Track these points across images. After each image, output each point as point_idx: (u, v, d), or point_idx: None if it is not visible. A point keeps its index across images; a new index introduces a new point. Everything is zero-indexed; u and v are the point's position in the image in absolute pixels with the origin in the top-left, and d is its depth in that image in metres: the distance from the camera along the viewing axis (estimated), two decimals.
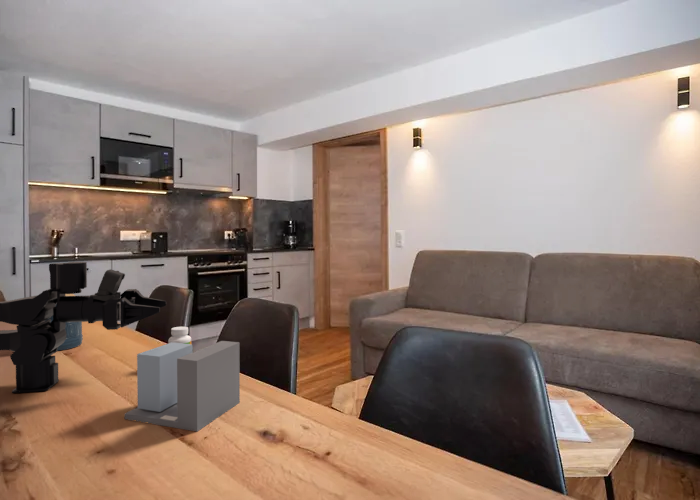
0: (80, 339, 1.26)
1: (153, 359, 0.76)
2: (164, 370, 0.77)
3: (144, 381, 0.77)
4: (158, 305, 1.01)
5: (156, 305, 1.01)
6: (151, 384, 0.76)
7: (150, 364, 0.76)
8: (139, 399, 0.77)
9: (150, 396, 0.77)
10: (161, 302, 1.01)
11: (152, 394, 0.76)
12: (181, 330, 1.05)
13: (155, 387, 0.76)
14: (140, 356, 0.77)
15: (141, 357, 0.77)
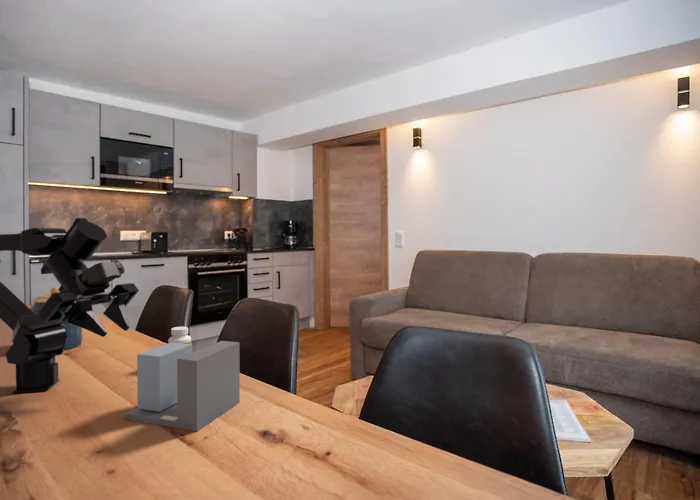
0: (80, 339, 1.26)
1: (153, 359, 0.76)
2: (164, 370, 0.77)
3: (144, 381, 0.77)
4: (121, 324, 0.87)
5: (120, 323, 0.87)
6: (151, 384, 0.76)
7: (150, 364, 0.76)
8: (139, 399, 0.77)
9: (150, 396, 0.77)
10: (124, 325, 0.87)
11: (152, 394, 0.76)
12: (181, 330, 1.05)
13: (155, 387, 0.76)
14: (140, 356, 0.77)
15: (141, 357, 0.77)
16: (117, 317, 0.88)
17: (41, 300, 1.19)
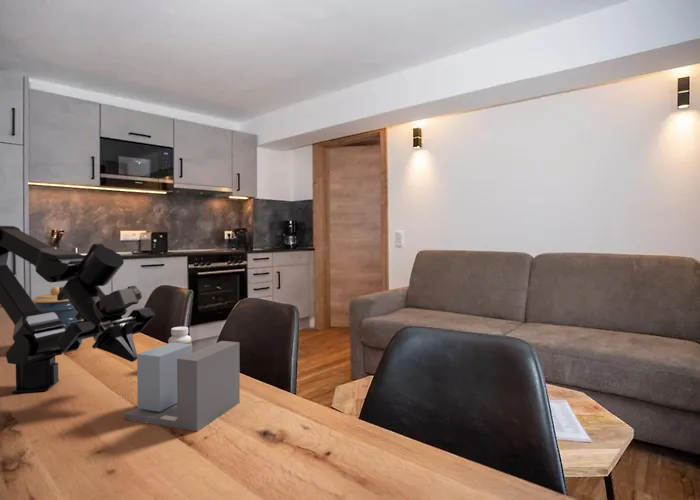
0: None
1: (153, 359, 0.76)
2: (164, 370, 0.77)
3: (144, 381, 0.77)
4: None
5: None
6: (151, 384, 0.76)
7: (150, 364, 0.76)
8: (139, 399, 0.77)
9: (150, 396, 0.77)
10: None
11: (152, 394, 0.76)
12: (181, 330, 1.05)
13: (155, 387, 0.76)
14: (140, 356, 0.77)
15: (141, 357, 0.77)
16: None
17: (41, 300, 1.19)
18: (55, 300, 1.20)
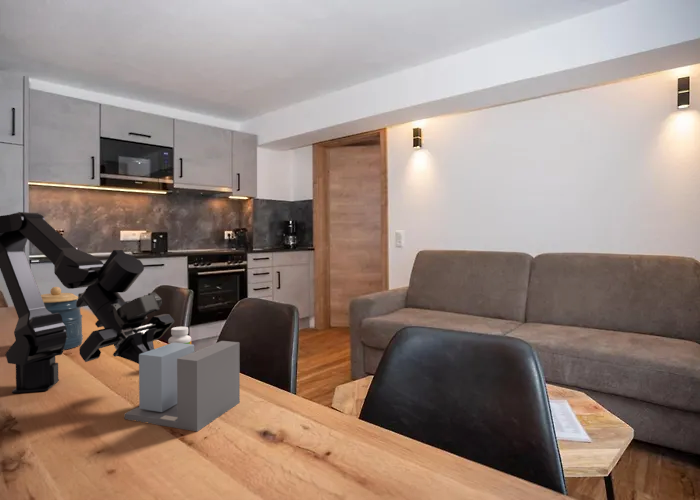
0: (80, 339, 1.26)
1: (155, 359, 0.76)
2: (166, 370, 0.77)
3: (146, 382, 0.77)
4: None
5: None
6: (153, 385, 0.76)
7: (152, 365, 0.76)
8: (141, 399, 0.77)
9: (152, 396, 0.76)
10: None
11: (154, 394, 0.76)
12: (181, 330, 1.05)
13: (157, 387, 0.76)
14: (142, 356, 0.77)
15: (143, 357, 0.77)
16: None
17: None
18: (55, 300, 1.20)
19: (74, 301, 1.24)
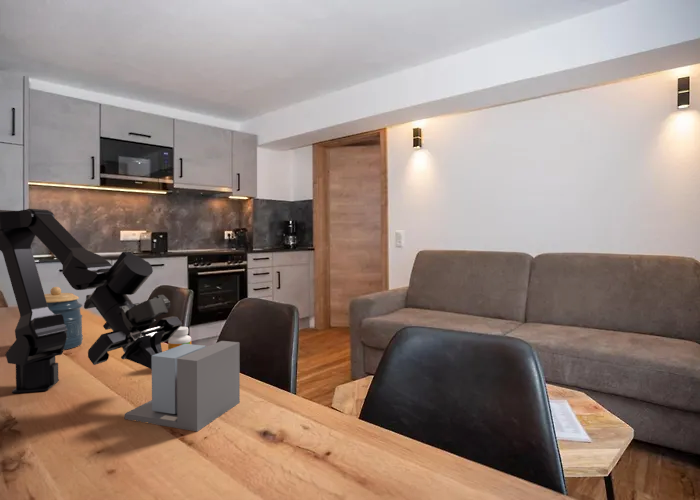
0: (80, 339, 1.26)
1: (168, 361, 0.75)
2: None
3: (159, 383, 0.76)
4: None
5: None
6: (166, 386, 0.75)
7: (165, 366, 0.75)
8: (153, 401, 0.76)
9: (165, 398, 0.76)
10: None
11: (166, 396, 0.76)
12: (181, 330, 1.05)
13: (170, 389, 0.75)
14: (154, 357, 0.76)
15: (156, 358, 0.76)
16: None
17: None
18: (55, 300, 1.20)
19: (74, 301, 1.24)
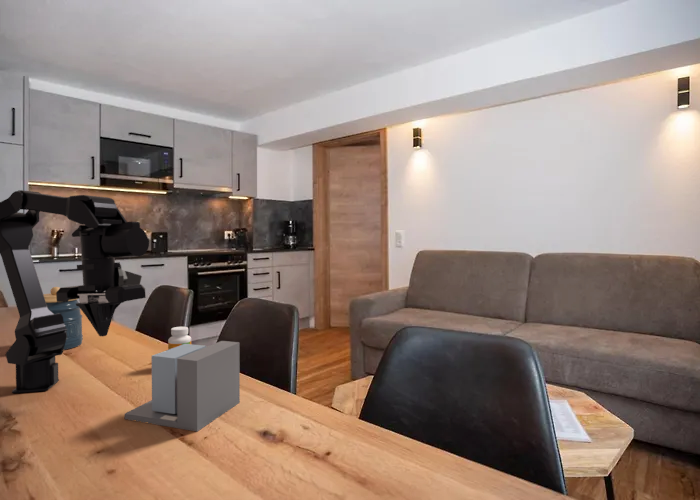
0: (80, 339, 1.26)
1: (168, 361, 0.75)
2: None
3: (159, 383, 0.76)
4: None
5: None
6: (166, 386, 0.75)
7: (165, 366, 0.75)
8: (153, 401, 0.76)
9: (165, 398, 0.76)
10: None
11: (166, 396, 0.76)
12: (181, 330, 1.05)
13: (170, 389, 0.75)
14: (154, 357, 0.76)
15: (156, 358, 0.76)
16: None
17: None
18: (55, 300, 1.20)
19: (74, 301, 1.24)
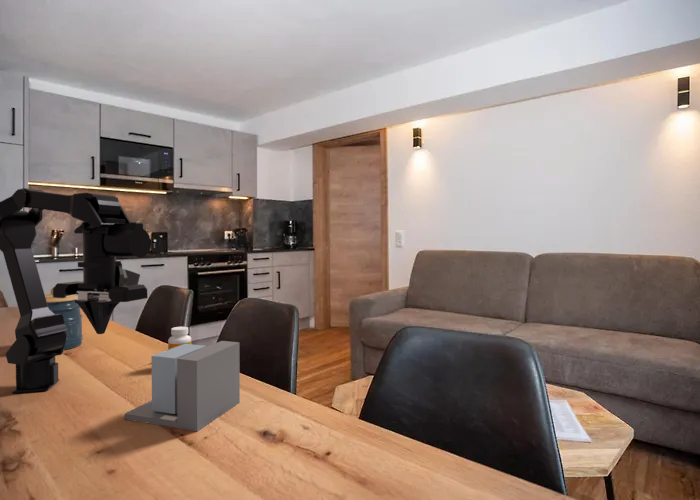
0: (80, 339, 1.26)
1: (168, 361, 0.75)
2: None
3: (159, 383, 0.76)
4: None
5: None
6: (166, 386, 0.75)
7: (165, 366, 0.75)
8: (153, 401, 0.76)
9: (165, 398, 0.76)
10: None
11: (166, 396, 0.76)
12: (181, 330, 1.05)
13: (170, 389, 0.75)
14: (154, 357, 0.76)
15: (156, 358, 0.76)
16: None
17: None
18: (55, 300, 1.20)
19: (74, 301, 1.24)
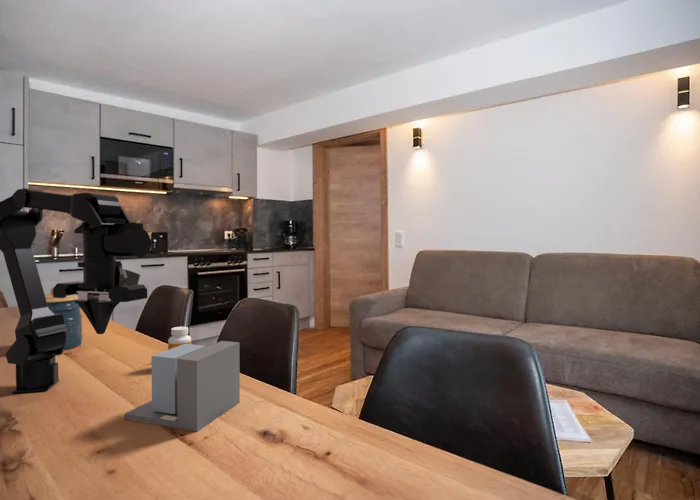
0: (80, 339, 1.26)
1: (168, 361, 0.75)
2: None
3: (159, 383, 0.76)
4: None
5: None
6: (166, 386, 0.75)
7: (165, 366, 0.75)
8: (153, 401, 0.76)
9: (165, 398, 0.76)
10: None
11: (166, 396, 0.76)
12: (181, 330, 1.05)
13: (170, 389, 0.75)
14: (154, 357, 0.76)
15: (156, 358, 0.76)
16: None
17: None
18: (55, 300, 1.20)
19: (74, 301, 1.24)
